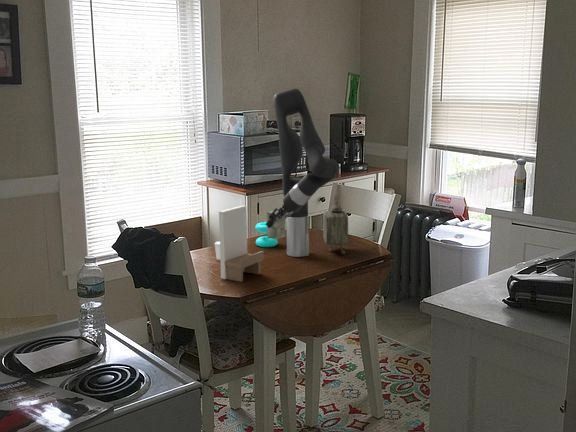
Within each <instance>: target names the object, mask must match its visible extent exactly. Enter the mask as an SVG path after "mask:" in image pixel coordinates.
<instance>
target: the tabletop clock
mask: <svg viewBox="0 0 576 432" xmlns="http://www.w3.org/2000/svg"><path fill="white" fill-rule="evenodd" d="M338 204H339V198H338V195H337V194H335V195H334V205H332V206H331V208H330V210H327V211H325V212H323V216H322V220H323V221H322V222H323V223H322V224H323V225H322V229H323V230H322V236H323V240H324V243H325V244H326V245H328V246H330V247H329V248H328V251H329V252H332V251H333V246H337V248H338V249H340V250H341V252H340V253H341V255H345V253H346V251H345V250H343V247H342V246H348V244H349V215H348V213H347V211H346V210H345V209H344V210H343V209H342V207H341V206H340V205H338Z"/></svg>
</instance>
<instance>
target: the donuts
mask: <svg viewBox="0 0 576 432" xmlns="http://www.w3.org/2000/svg"><path fill="white" fill-rule="evenodd" d="M266 223H267V221H264V222H258V223H256V225H255V230H256V231H257V232H259V233H262V234H263V233H264V234H267V225H266ZM278 243H279V242H278V239H272V238H267V235H266V236H260V237H258V238H256V240H255V244H256V246H257V247H259V248H272V247H275V246H277V245H278Z"/></svg>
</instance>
